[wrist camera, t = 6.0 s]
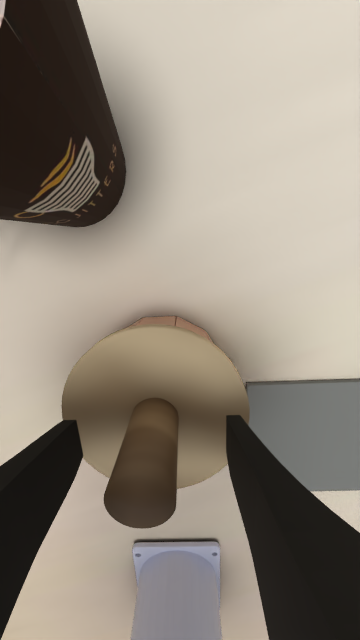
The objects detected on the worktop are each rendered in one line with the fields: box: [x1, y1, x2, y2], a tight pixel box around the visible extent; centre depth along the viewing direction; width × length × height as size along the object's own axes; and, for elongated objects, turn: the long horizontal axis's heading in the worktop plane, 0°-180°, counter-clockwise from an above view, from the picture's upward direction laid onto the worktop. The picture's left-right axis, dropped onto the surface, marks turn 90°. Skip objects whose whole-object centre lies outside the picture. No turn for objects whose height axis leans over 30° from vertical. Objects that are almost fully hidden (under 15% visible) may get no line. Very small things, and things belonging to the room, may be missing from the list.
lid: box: [62, 324, 250, 528], centre depth 9 cm, size 10×10×5 cm
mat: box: [246, 379, 360, 491], centre depth 17 cm, size 10×10×1 cm
